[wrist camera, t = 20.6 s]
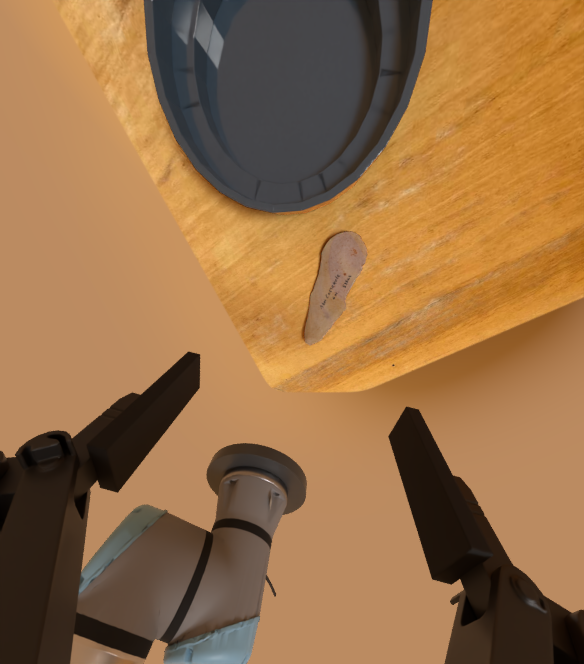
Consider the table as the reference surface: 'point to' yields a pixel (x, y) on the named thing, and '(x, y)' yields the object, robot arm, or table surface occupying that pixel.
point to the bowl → (285, 90)
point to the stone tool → (334, 283)
